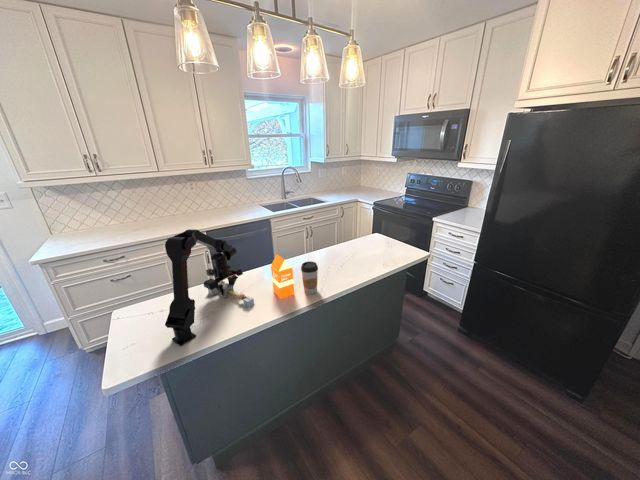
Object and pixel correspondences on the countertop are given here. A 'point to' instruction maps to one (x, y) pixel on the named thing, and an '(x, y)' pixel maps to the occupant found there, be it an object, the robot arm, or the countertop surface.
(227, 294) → the sleeve
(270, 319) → the countertop surface
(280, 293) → the orange juice
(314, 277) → the coffee cup
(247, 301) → the cord rig
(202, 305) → the countertop surface
